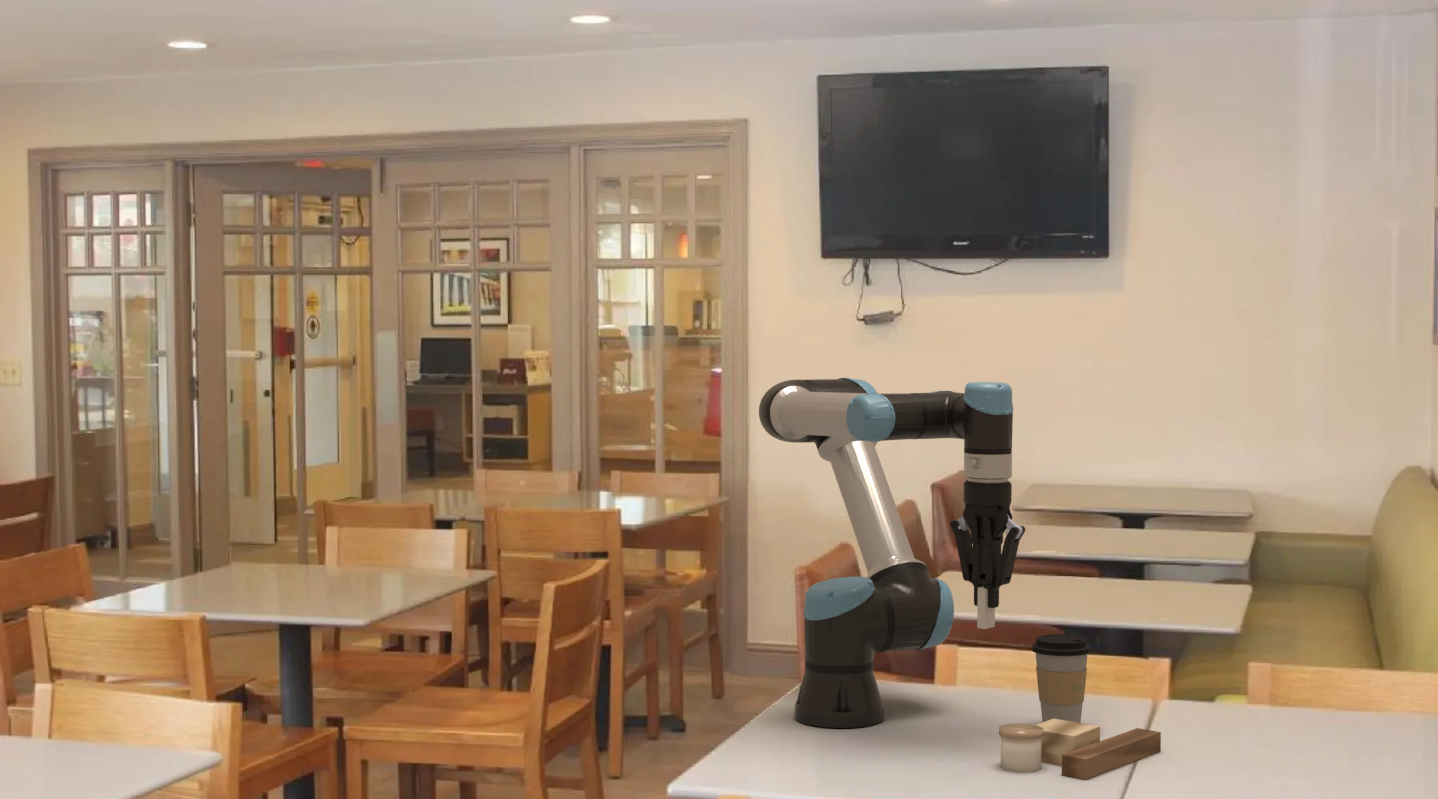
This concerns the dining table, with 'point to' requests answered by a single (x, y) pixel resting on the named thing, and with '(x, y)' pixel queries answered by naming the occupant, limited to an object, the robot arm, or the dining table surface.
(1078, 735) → the block
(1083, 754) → the board
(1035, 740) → the sugar pot
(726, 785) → the dining table surface
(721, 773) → the dining table surface
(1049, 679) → the coffee cup
